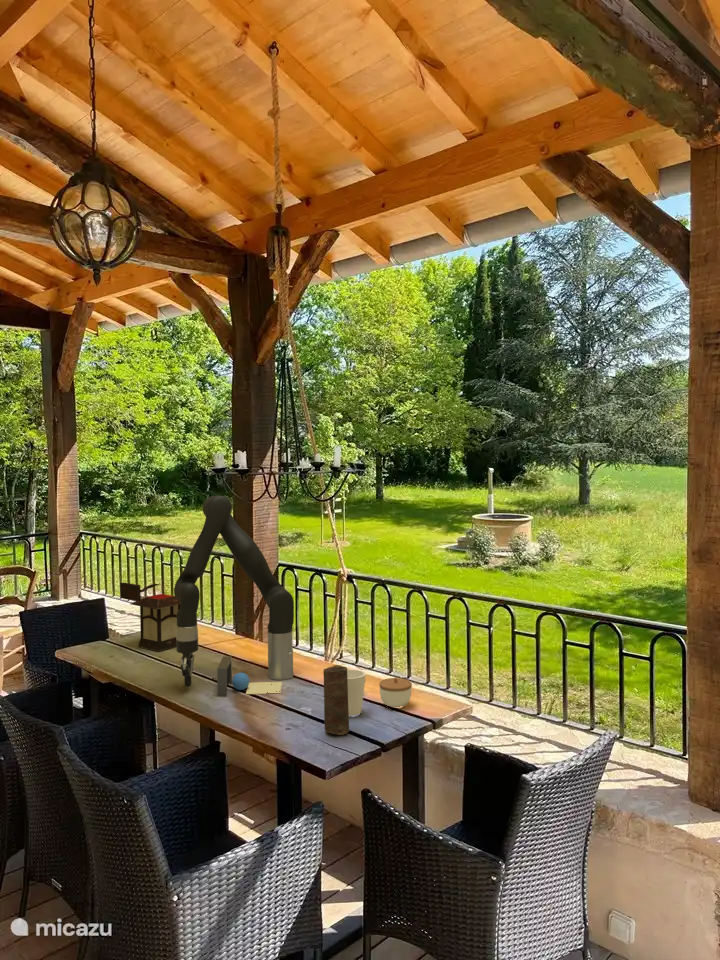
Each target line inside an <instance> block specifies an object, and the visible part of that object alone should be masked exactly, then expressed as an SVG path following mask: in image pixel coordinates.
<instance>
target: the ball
mask: <svg viewBox="0 0 720 960" xmlns="http://www.w3.org/2000/svg"><path fill="white" fill-rule="evenodd" d="M249 683H250V677H249V676H248V674H246V673H245V672H238V673H236V674H234V676H232V683H231V685H232V686H233V688H234V689H236V690H238V691H242V690H245V689H247V688H248V685H249Z"/></svg>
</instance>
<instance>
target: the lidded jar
mask: <svg viewBox="0 0 720 960" xmlns="http://www.w3.org/2000/svg"><path fill="white" fill-rule="evenodd" d="M378 685H379V686H378V687H379V695H380V698H381V699H380V700H381V701H382V703H384V704H385V706H386V705H387V706H391V707H400V706H405V707H406V705H407V704H408V703H409V702H410V700H411V697H412V687H413V686H412V685H413V684H412V681H410V680H409V679H406V678H401V677H389V678H384V679H382V680H381V681H379V684H378ZM387 706H386V707H387Z"/></svg>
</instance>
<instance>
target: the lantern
mask: <svg viewBox="0 0 720 960" xmlns="http://www.w3.org/2000/svg"><path fill="white" fill-rule="evenodd" d="M158 586H161V589H162V591H164V589H163V585H162V584H161V582H160V583H159V582H158V583H151V584H149V585H147V586H144V587H143V588H142V589H141V584H138V583H137V584H136V583H131V582H120V583H119V587H120V593H119V595H120V599H125V600H129V601H133V602H130V605H132V606H138V607H139V614H140V616H139V617H140V619H139V620H140V640H139V641H138V646H139V648H140V647H143V648H142V649H144V648H147V649H146V650H148V649H151V650H150V651H153V650H155V651H154V652H157V651H158V653H161V652H163V651H168V650H171V649H174V647H175V648H177V647H176V630H177V611H178V610H179V609H180V606H181V600H179V599H177V598H176V597H175V595H172V594H171V595H170V594H165V593H164V592H162V593H159V594H158V593H157V592H155V593H154V595H151V596H150V595H149V596H146V597H143V598H141V596H142V595H141V594H142V593H144V592H145V591H147V590H149V589H152V588H154V587H156V589H155V591H157V589H158ZM138 646H137V647H138ZM160 651H161V652H160Z"/></svg>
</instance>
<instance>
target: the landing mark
mask: <svg viewBox="0 0 720 960" xmlns="http://www.w3.org/2000/svg"><path fill="white" fill-rule="evenodd" d="M271 684H272V685H271ZM281 686H283V682H282V681H271V682H270V681H265V682H263V681H262V682H261V681H259V682H256V681H255V682H249V685H248V686H247V688H246V692H245V695H267V694H266V693H267V692H268V693H280V694H281V692H282V687H281ZM276 691H277V692H276ZM279 691H280V692H279Z"/></svg>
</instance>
